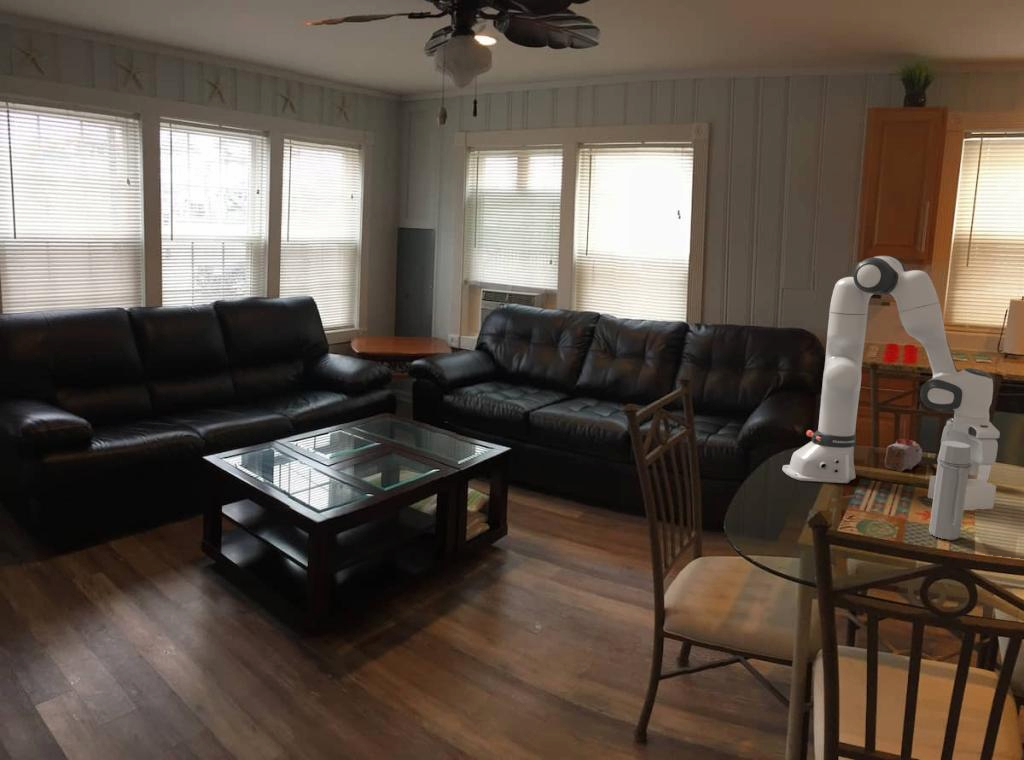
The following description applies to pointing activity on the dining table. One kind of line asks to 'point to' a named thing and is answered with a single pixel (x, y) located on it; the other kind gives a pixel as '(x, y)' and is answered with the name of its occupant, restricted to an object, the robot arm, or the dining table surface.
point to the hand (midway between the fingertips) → (963, 470)
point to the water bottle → (950, 490)
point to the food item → (903, 455)
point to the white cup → (983, 472)
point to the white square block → (972, 494)
